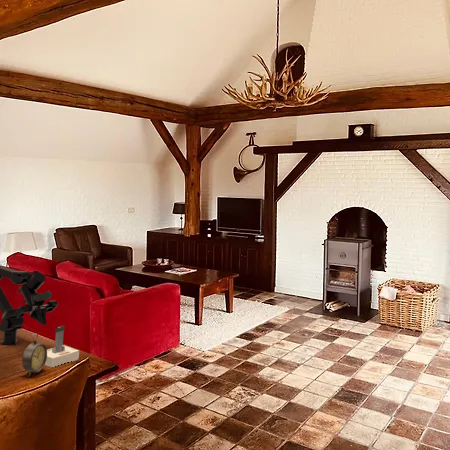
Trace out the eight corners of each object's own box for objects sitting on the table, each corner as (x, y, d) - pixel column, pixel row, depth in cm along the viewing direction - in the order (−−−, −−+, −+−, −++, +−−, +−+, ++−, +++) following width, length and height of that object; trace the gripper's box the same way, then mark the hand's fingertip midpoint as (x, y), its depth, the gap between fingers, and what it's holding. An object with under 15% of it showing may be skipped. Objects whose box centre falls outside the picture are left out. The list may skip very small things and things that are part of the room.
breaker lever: (53, 350, 202) (55, 326, 202) (59, 348, 205) (61, 325, 204) (57, 351, 201) (59, 327, 200) (63, 350, 204) (65, 326, 203)
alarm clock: (30, 379, 181) (33, 337, 180) (18, 377, 182) (21, 335, 182) (46, 369, 192) (49, 330, 191) (34, 367, 193) (37, 328, 192)
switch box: (36, 361, 200) (37, 348, 199) (62, 354, 212) (63, 341, 211) (52, 367, 195) (53, 354, 194) (78, 359, 207) (79, 346, 206)
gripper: (21, 287, 201) (36, 318, 196) (57, 282, 217) (71, 311, 212) (8, 302, 206) (23, 332, 201) (44, 296, 222) (58, 324, 217)
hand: (45, 324), depth 207 cm, fingers closed
